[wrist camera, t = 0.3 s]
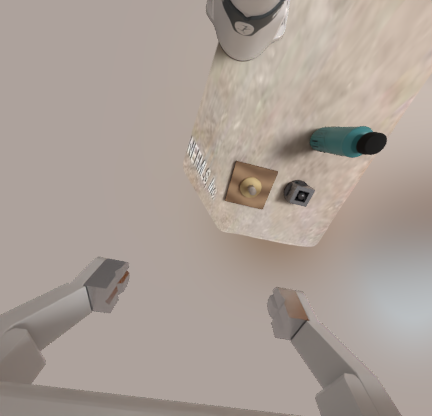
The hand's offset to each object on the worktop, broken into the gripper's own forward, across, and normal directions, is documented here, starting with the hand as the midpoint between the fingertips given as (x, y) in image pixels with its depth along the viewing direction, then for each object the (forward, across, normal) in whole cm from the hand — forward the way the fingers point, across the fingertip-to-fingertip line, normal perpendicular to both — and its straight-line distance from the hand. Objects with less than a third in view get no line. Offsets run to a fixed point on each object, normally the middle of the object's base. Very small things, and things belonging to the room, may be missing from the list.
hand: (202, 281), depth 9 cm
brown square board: (+47, -13, +8) cm, 49 cm away
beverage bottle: (+47, -28, -11) cm, 56 cm away
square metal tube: (+46, -29, +6) cm, 55 cm away
